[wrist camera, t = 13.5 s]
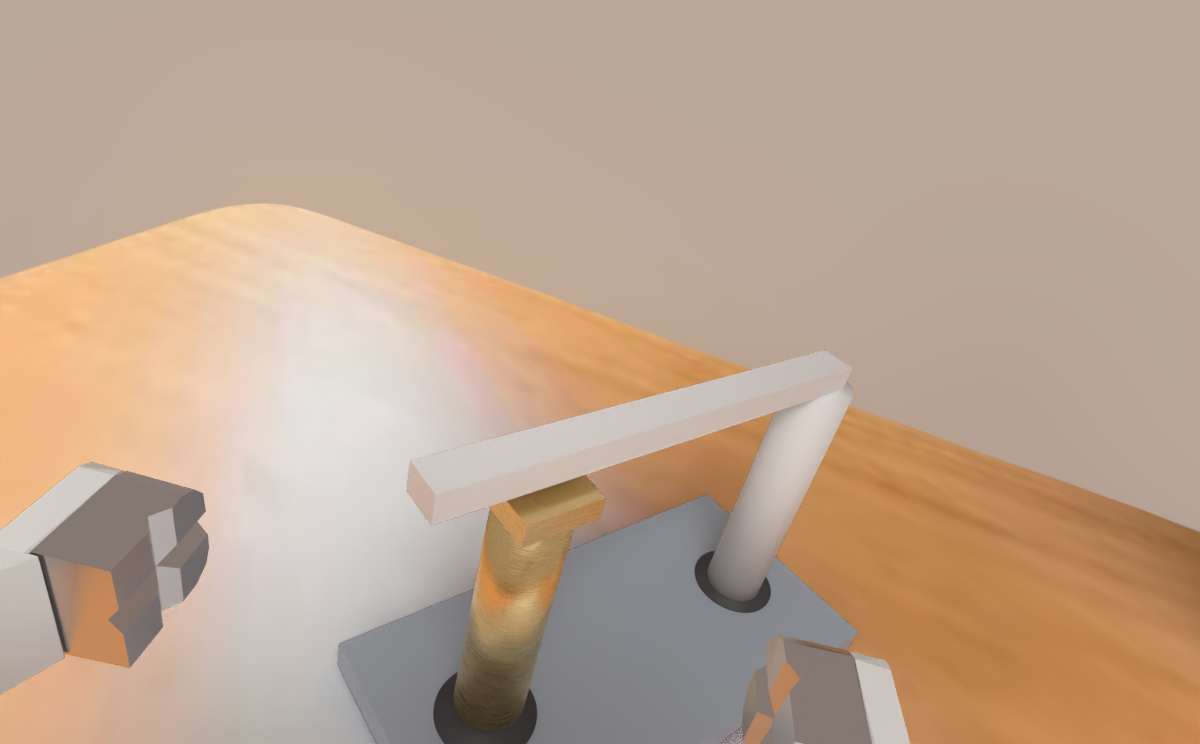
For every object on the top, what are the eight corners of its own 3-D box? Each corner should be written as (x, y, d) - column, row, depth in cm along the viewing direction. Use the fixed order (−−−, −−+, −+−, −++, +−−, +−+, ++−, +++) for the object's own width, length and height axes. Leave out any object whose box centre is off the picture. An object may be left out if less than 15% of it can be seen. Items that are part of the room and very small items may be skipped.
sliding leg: (500, 659, 33) (552, 441, 26) (539, 717, 31) (606, 497, 25) (436, 691, 31) (475, 463, 25) (473, 754, 29) (527, 526, 23)
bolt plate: (700, 511, 48) (787, 291, 40) (847, 649, 41) (991, 416, 32) (326, 669, 33) (341, 367, 24) (455, 934, 25) (537, 632, 17)
